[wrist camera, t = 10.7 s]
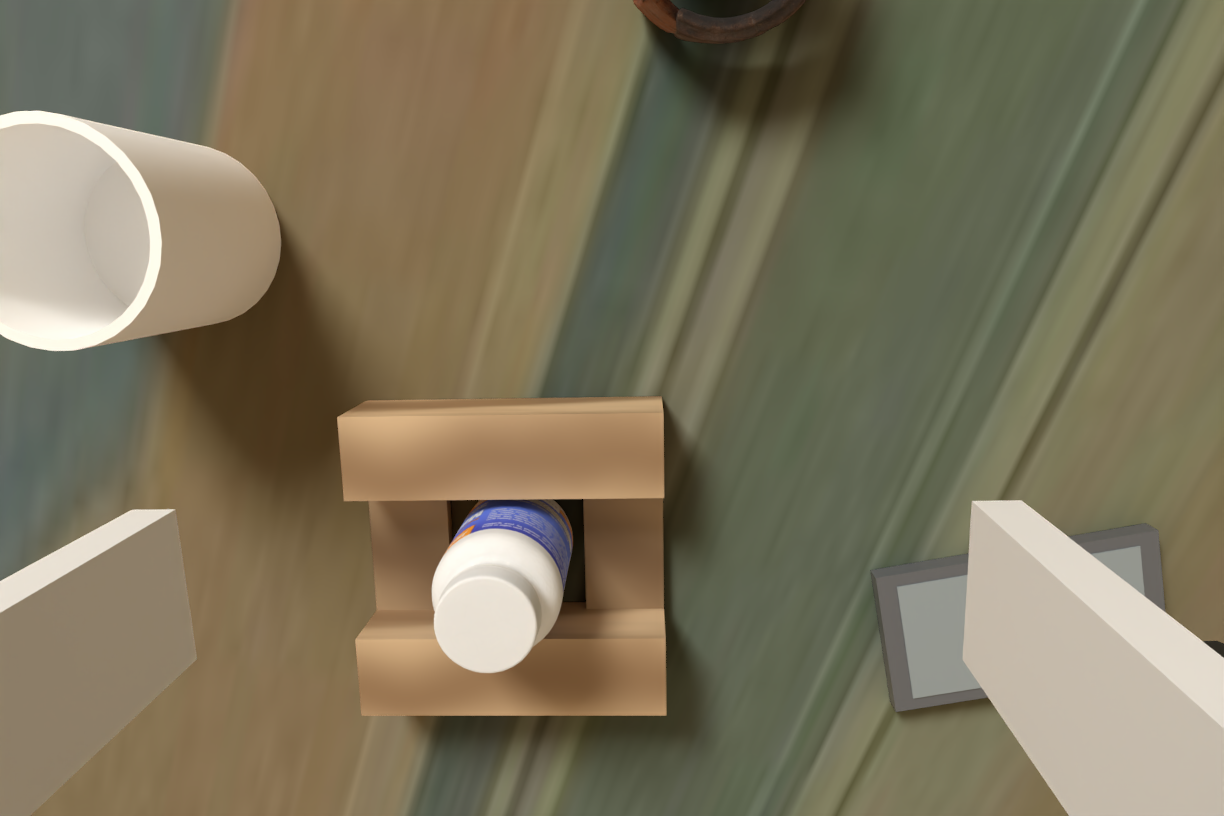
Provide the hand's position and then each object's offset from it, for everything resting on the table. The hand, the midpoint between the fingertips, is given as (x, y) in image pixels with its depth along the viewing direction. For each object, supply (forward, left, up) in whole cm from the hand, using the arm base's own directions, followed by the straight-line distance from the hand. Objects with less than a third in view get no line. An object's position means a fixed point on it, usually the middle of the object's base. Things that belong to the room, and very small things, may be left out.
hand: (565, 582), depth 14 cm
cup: (-7, -21, -27) cm, 35 cm away
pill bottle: (+8, -5, -27) cm, 28 cm away
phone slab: (+13, +19, -27) cm, 35 cm away
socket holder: (+9, -5, -27) cm, 28 cm away
